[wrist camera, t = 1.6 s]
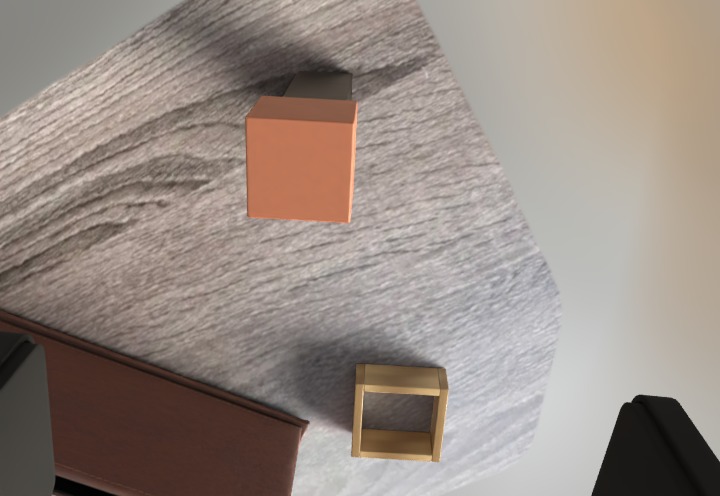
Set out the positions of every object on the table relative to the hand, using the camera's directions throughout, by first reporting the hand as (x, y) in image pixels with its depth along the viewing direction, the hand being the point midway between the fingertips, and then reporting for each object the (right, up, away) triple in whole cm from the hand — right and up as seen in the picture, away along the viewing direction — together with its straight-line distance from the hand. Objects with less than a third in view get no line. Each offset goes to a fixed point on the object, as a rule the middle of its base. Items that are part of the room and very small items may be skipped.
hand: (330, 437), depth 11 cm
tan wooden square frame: (+3, -8, +39) cm, 40 cm away
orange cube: (-2, +8, +21) cm, 22 cm away
